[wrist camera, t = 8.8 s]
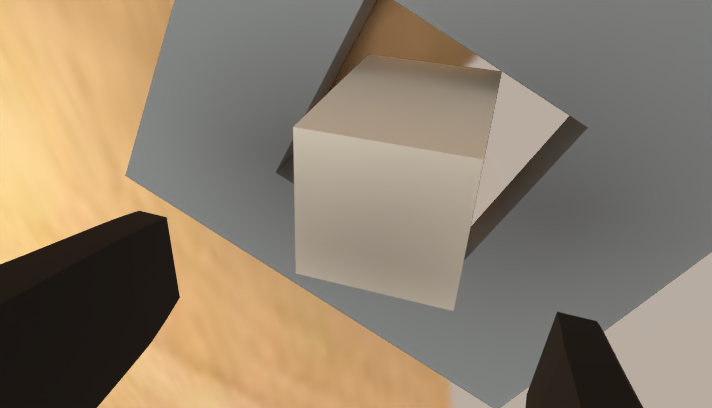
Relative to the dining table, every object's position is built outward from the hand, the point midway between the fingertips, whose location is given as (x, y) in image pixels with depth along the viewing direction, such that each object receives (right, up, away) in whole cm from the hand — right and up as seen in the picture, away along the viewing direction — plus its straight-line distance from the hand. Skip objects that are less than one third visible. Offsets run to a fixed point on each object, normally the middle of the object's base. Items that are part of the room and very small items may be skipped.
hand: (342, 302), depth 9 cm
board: (+2, +4, +7) cm, 9 cm away
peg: (+2, +4, +7) cm, 9 cm away
